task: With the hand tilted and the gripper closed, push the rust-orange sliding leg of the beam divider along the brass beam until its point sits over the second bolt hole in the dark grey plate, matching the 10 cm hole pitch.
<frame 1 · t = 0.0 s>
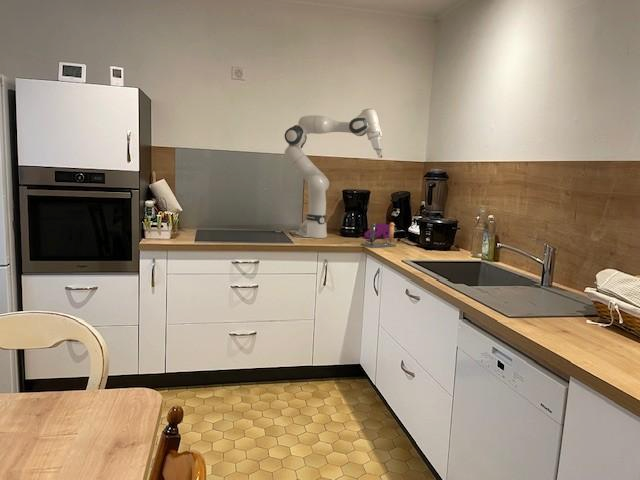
hand: (380, 157, 288), 52 cm above the table, tool tilted 20°, fingers open, 8 cm apart
fixed leg: (371, 246, 276), resting on hole plate
sliding leg: (389, 231, 286), point 8 cm above the table, slide at 5.5 cm
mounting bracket: (375, 238, 314), on the table
hole plate: (378, 245, 281), on the table
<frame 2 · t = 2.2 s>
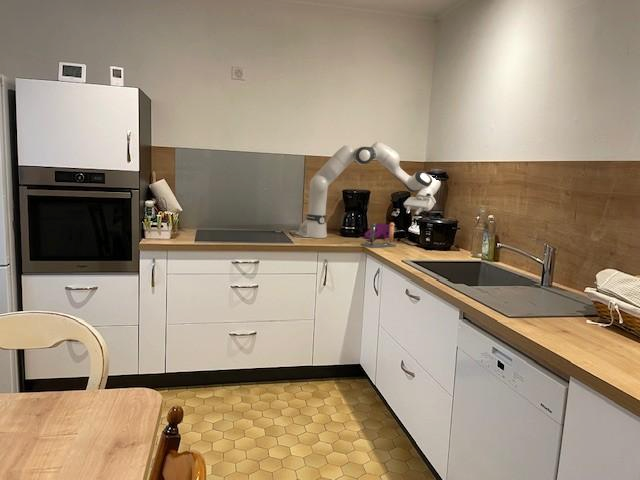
hand: (411, 213, 293), 19 cm above the table, tool tilted 45°, fingers open, 6 cm apart
nothing on the table moved.
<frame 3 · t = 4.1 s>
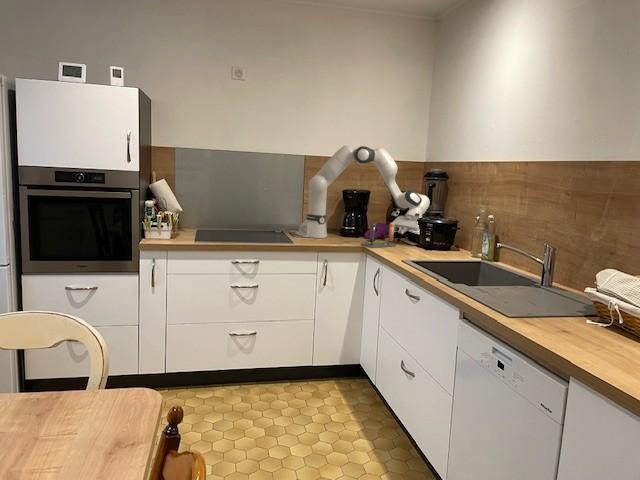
hand: (400, 233, 290), 7 cm above the table, tool tilted 45°, fingers closed
nothing on the table moved.
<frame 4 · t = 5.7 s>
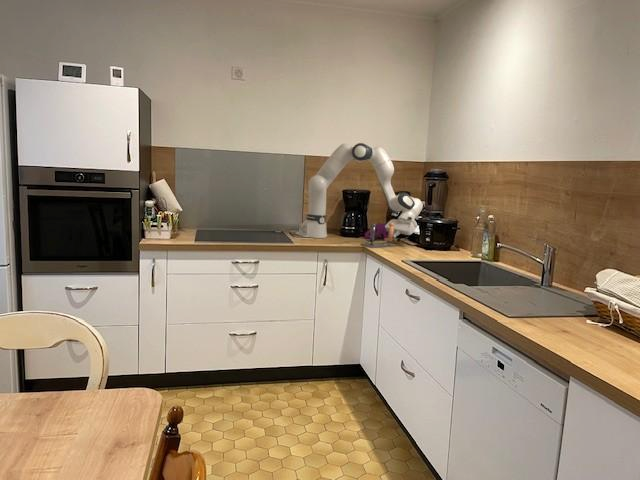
hand: (392, 236, 286), 5 cm above the table, tool tilted 45°, fingers closed, pressing on sliding leg
sliding leg: (389, 231, 285), point 8 cm above the table, slide at 5.0 cm, touching gripper
everything else where it was.
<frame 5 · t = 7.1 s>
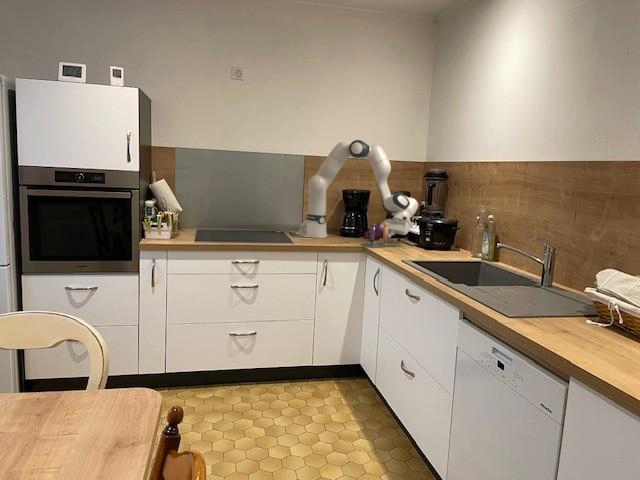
hand: (387, 236, 283), 5 cm above the table, tool tilted 45°, fingers closed, pressing on sliding leg
sliding leg: (384, 232, 283), point 8 cm above the table, slide at 0.5 cm, touching gripper
everything else where it was.
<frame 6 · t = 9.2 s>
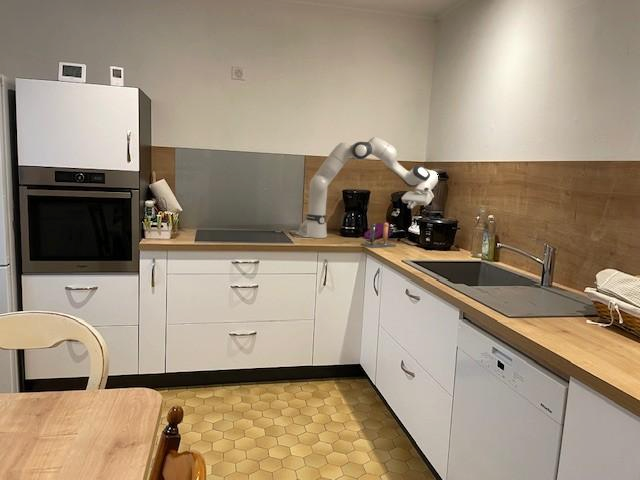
hand: (409, 207, 291), 23 cm above the table, tool tilted 45°, fingers closed
sliding leg: (384, 232, 283), point 8 cm above the table, slide at 0.5 cm
everything else where it was.
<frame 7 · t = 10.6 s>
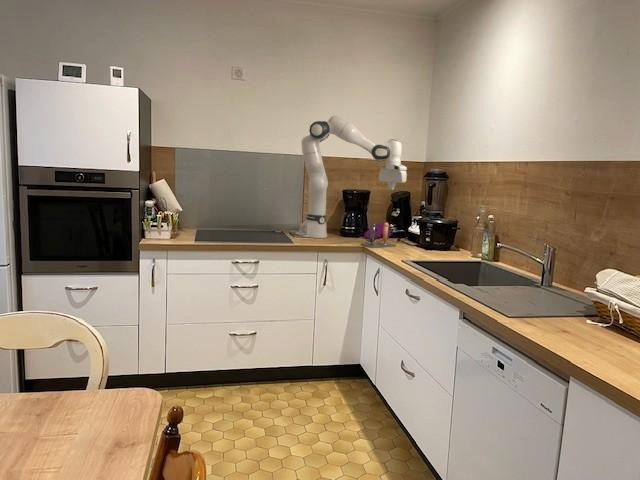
hand: (391, 189, 290), 33 cm above the table, tool pointing down, fingers closed
nothing on the table moved.
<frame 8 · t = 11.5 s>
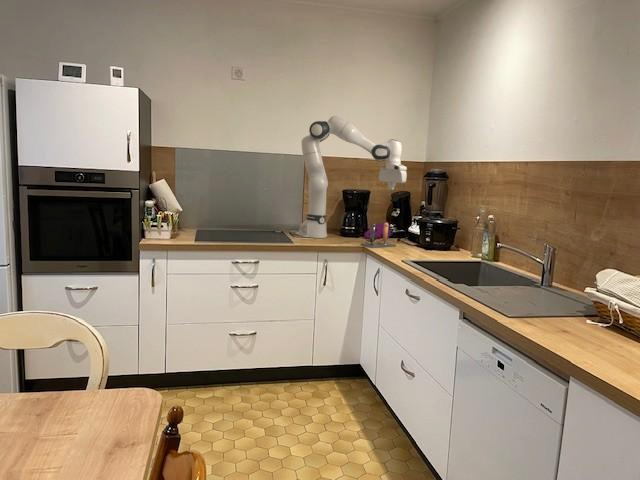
hand: (391, 189, 290), 33 cm above the table, tool pointing down, fingers closed
nothing on the table moved.
at the end: sliding leg slide at 0.5 cm; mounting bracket moved 0.7 cm from its start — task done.
